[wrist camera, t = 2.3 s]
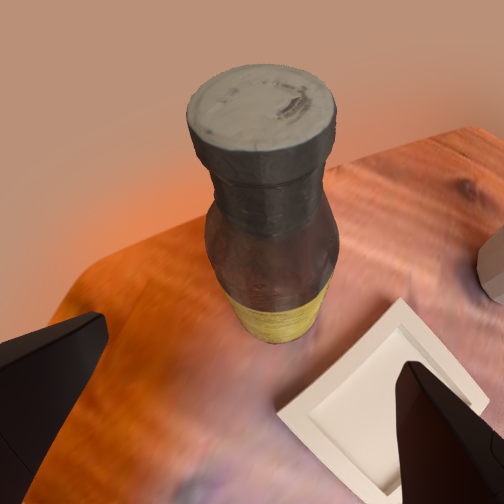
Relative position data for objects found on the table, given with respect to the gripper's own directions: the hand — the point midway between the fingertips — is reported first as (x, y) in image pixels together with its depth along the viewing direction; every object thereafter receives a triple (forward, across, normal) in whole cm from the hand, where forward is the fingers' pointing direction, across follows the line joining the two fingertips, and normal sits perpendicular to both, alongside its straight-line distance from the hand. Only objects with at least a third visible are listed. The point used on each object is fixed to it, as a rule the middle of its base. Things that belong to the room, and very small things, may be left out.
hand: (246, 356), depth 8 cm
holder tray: (+10, -10, +13) cm, 19 cm away
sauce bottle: (+16, 0, +8) cm, 17 cm away
